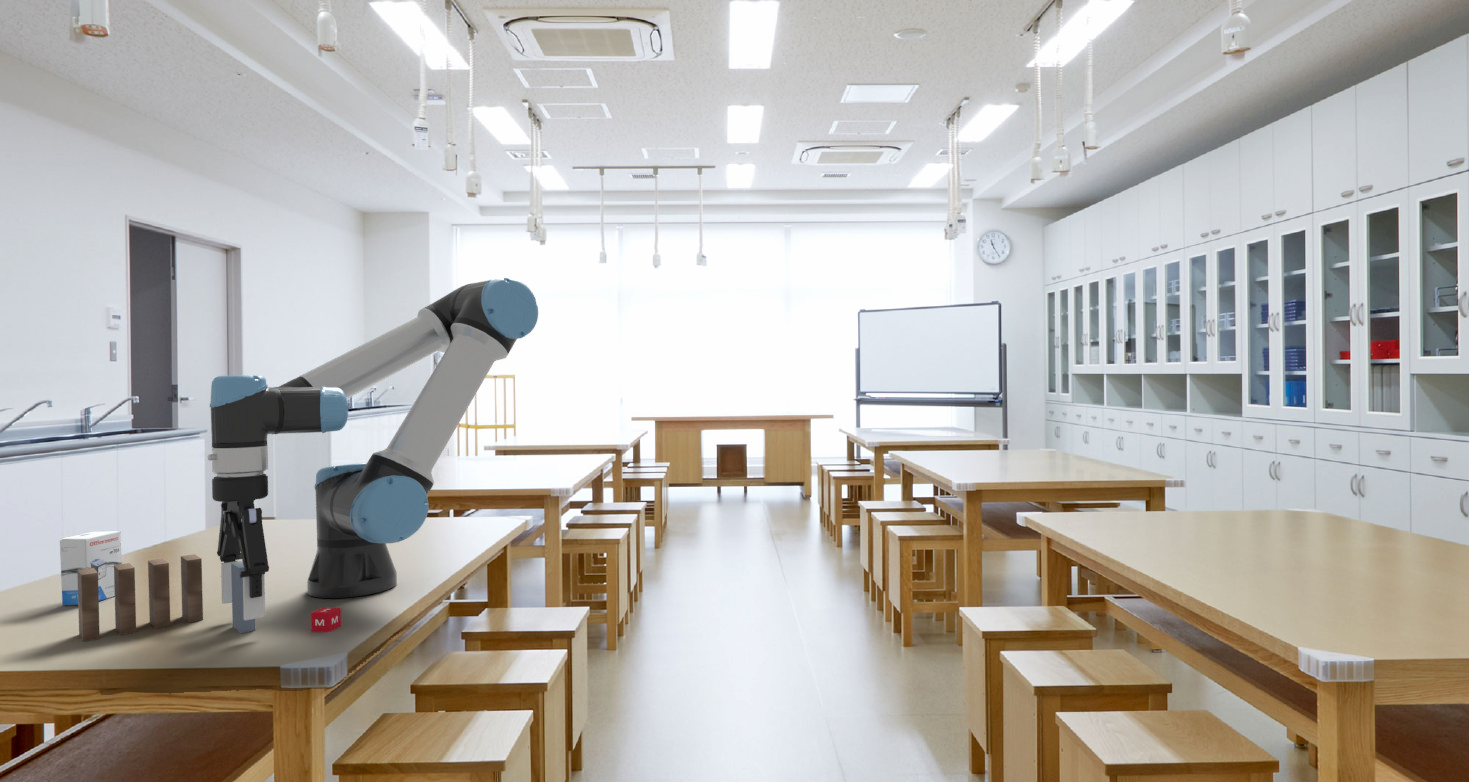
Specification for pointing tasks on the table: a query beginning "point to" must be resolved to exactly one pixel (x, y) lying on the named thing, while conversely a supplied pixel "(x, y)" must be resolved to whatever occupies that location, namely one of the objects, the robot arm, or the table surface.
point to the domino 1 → (125, 598)
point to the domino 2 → (159, 593)
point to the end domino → (88, 604)
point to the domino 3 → (191, 588)
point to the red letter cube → (325, 619)
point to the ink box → (89, 562)
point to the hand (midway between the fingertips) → (242, 610)
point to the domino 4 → (239, 600)
